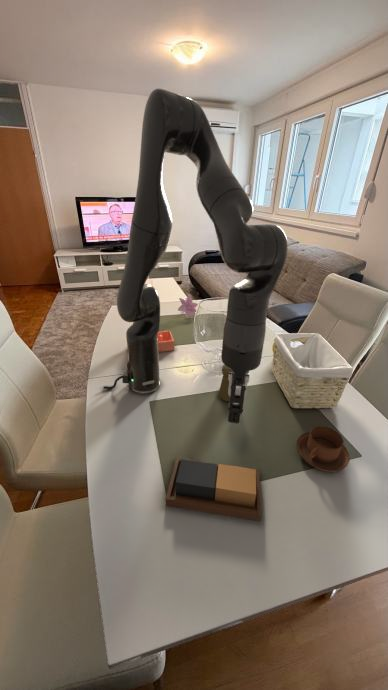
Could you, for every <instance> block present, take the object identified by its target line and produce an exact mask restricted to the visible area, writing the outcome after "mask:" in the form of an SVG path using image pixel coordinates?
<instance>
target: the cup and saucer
mask: <svg viewBox="0 0 388 690" xmlns="http://www.w3.org/2000/svg"><path fill="white" fill-rule="evenodd" d="M296 448H297V449H296V450H297V452H298V453H299V455H300V457H301V458H302V460H304V461H305V462H306V463H307V464H309V465H310V466H312V467H313V468H315V469H318V470H320V471H324V472H340V471H342V470H344V469H346V467H348V465H349V464H350V453H349V451H348V449H347V448H346V446H345V445H344V439H343V437H342V435H341V434H340V433H339V432H338V431H336V430H335V429H333V428H331V427H329V426H325V425H317V426H314V427H312V428H311V429H310V431H309V432H305V433H303V434H301V435H300V436H299V437H298V439H297V441H296Z"/></svg>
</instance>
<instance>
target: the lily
mask: <svg viewBox="0 0 388 690" xmlns="http://www.w3.org/2000/svg"><path fill="white" fill-rule="evenodd" d="M178 299H179V301H180V304H181V305H180V306H178V308H177V311H179V312H182V313H184V314H185V317H186V318H185V319H187V320H188V319H189V317H190V316H191V315H193V316H195V312H196V311H197V309H196V308H197V306H198V305H199V304H198V303H196V302H193V297H192V295H191V293H189V294H188V295H187V297H186V298H185V299H184V298H181V297H179V298H178Z"/></svg>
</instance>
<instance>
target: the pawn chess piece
mask: <svg viewBox="0 0 388 690" xmlns="http://www.w3.org/2000/svg"><path fill="white" fill-rule="evenodd" d="M229 369H230V368H229V367H227V366H226V365H225V364H224V363H223V365H222V367H221V374H222V378H221V382H220V386H219V390H218V397H219V398H220V399H221V400H223V401H225V402H230V396H229V395H228V389H229V380H228V377H229Z"/></svg>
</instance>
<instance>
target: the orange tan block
mask: <svg viewBox="0 0 388 690" xmlns="http://www.w3.org/2000/svg"><path fill="white" fill-rule="evenodd" d="M218 464H219V465H218V473H217V482H216V491H215V501H221V502H227V503H233V504H239V505H245V506H250V507H254V503H255V498H256V468H251V469H249V468H250V467H244V468H242V467H243V466H237V467H236V465H230V466H229V464H224V463H218Z"/></svg>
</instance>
